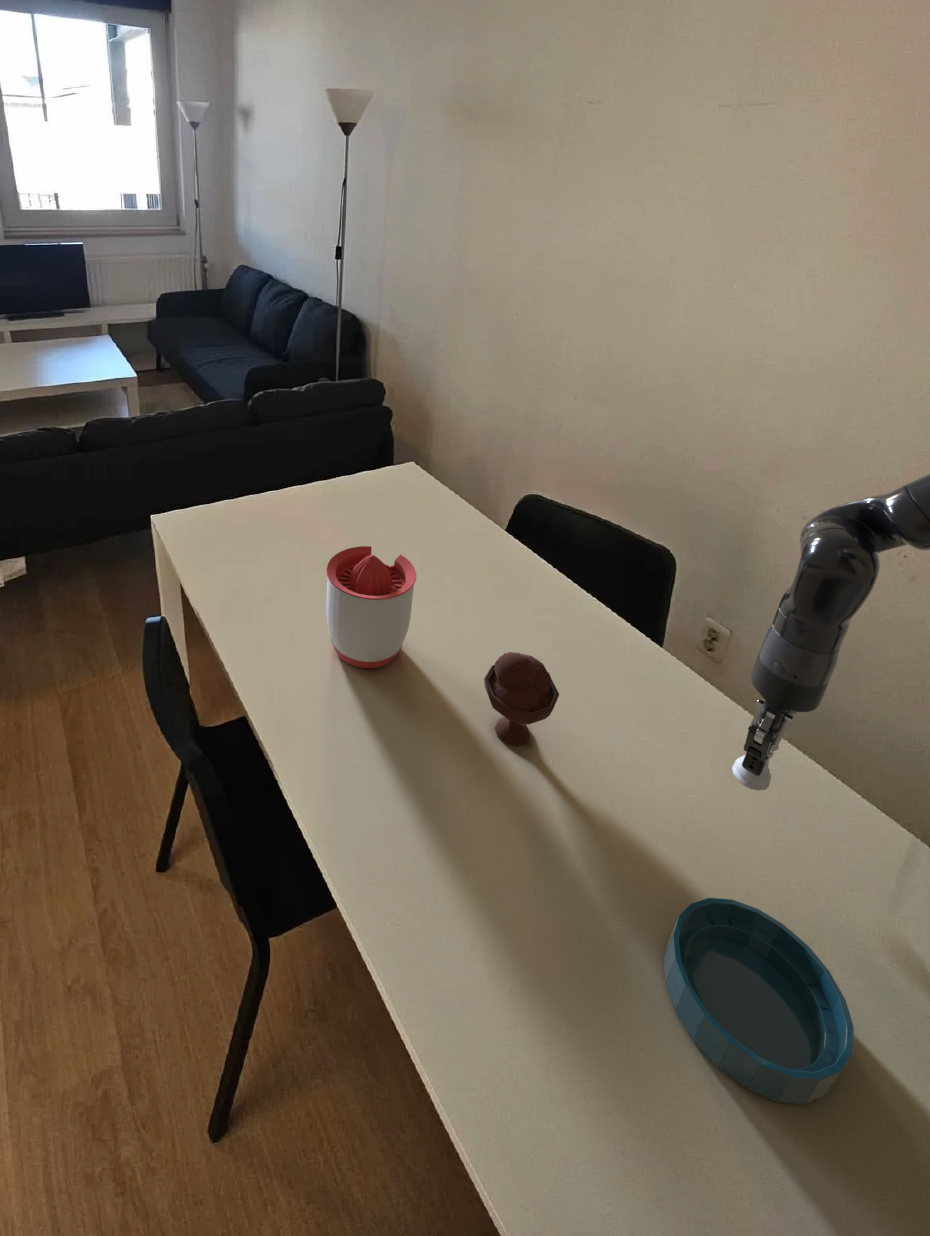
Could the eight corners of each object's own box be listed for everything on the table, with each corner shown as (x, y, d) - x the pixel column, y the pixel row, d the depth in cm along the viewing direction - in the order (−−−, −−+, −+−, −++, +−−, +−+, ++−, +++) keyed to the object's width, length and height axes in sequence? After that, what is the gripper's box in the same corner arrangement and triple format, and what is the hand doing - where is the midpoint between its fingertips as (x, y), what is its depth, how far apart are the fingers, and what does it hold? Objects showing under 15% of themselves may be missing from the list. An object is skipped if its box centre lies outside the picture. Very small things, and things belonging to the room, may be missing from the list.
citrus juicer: (422, 629, 125) (432, 540, 117) (391, 690, 110) (400, 593, 102) (347, 605, 131) (352, 519, 123) (308, 660, 116) (311, 566, 108)
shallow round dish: (778, 930, 77) (791, 903, 75) (875, 1113, 63) (894, 1086, 61) (640, 919, 78) (650, 892, 76) (704, 1098, 63) (718, 1071, 61)
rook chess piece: (738, 758, 92) (754, 716, 89) (773, 780, 89) (791, 737, 86) (725, 776, 90) (741, 733, 87) (761, 799, 87) (779, 755, 83)
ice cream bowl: (521, 774, 96) (538, 697, 90) (463, 726, 104) (474, 652, 98) (562, 738, 102) (579, 663, 96) (503, 695, 110) (517, 624, 104)
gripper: (813, 709, 75) (770, 812, 81) (845, 653, 83) (803, 751, 90) (741, 672, 80) (706, 773, 86) (778, 623, 88) (744, 718, 95)
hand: (756, 761), depth 88 cm, fingers closed on rook chess piece, 3 cm apart
